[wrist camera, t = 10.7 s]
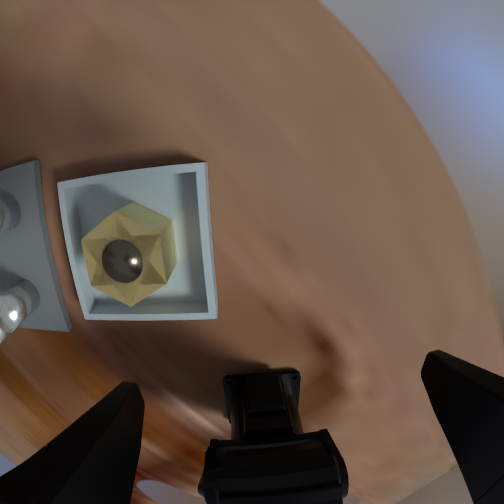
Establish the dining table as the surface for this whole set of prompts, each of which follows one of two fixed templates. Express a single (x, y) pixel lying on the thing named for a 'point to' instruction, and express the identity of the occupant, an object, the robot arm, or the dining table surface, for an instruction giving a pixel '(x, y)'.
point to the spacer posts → (23, 292)
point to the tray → (185, 231)
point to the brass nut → (130, 253)
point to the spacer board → (31, 249)
